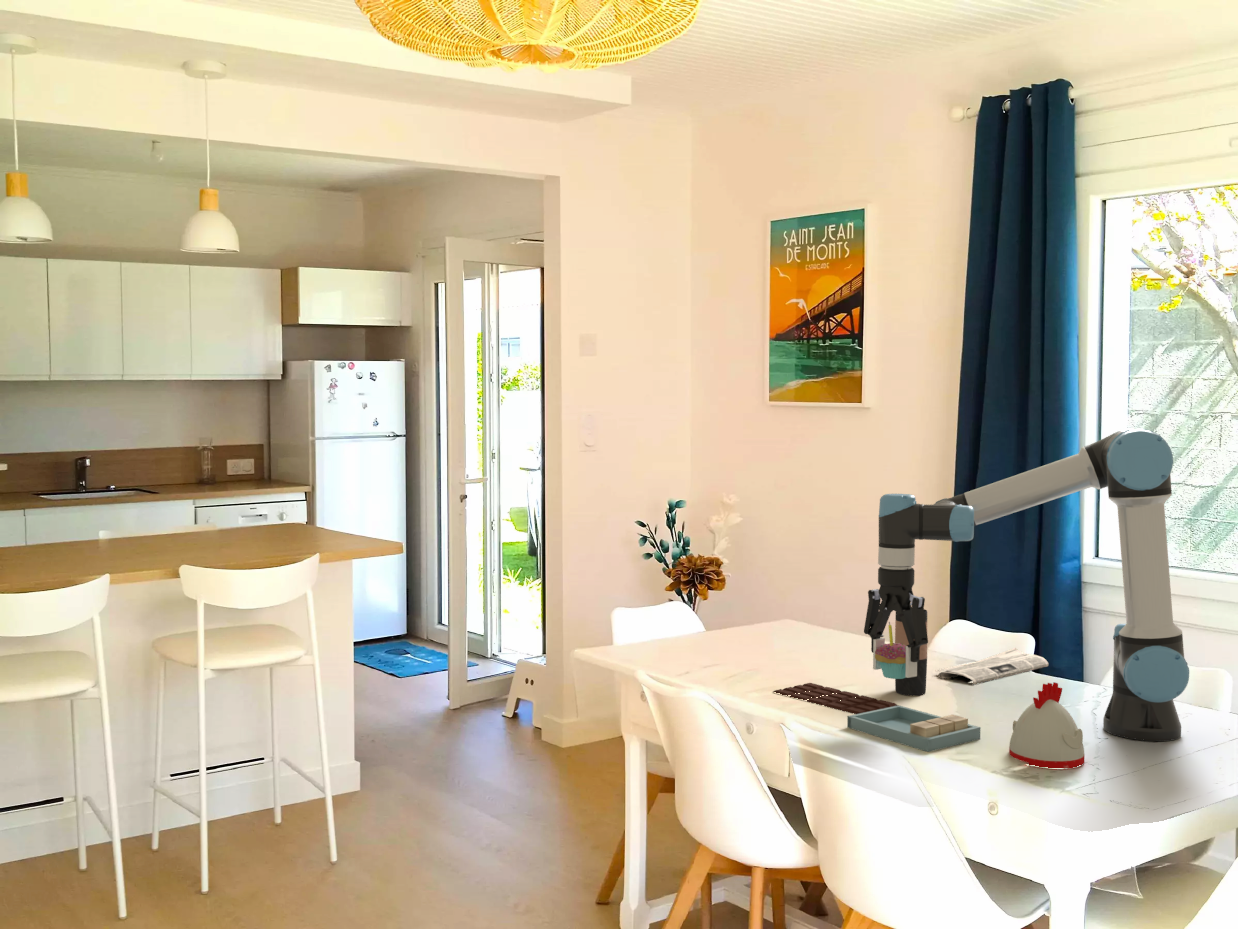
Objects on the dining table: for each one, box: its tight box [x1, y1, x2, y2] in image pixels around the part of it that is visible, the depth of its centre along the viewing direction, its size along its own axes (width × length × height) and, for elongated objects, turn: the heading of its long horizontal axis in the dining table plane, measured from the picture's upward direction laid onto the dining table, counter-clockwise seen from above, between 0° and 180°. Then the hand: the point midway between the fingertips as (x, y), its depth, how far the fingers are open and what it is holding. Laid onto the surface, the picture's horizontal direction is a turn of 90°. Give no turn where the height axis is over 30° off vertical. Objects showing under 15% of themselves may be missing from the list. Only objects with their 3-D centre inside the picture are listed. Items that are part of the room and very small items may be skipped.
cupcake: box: [875, 621, 906, 680], centre depth 253 cm, size 9×8×12 cm
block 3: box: [940, 714, 969, 732], centre depth 246 cm, size 4×4×4 cm
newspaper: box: [934, 647, 1049, 685], centre depth 310 cm, size 35×12×4 cm, turn 129°
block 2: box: [925, 718, 954, 735], centre depth 243 cm, size 4×4×4 cm
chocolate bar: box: [772, 682, 898, 715], centre depth 281 cm, size 27×14×1 cm, turn 39°
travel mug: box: [894, 608, 928, 697], centre depth 287 cm, size 8×8×20 cm
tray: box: [846, 704, 981, 753], centre depth 249 cm, size 22×16×3 cm
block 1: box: [910, 721, 939, 738], centre depth 241 cm, size 4×4×4 cm
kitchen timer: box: [1008, 682, 1086, 769], centre depth 233 cm, size 14×14×15 cm
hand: (894, 672), depth 253 cm, fingers closed on cupcake, 8 cm apart
